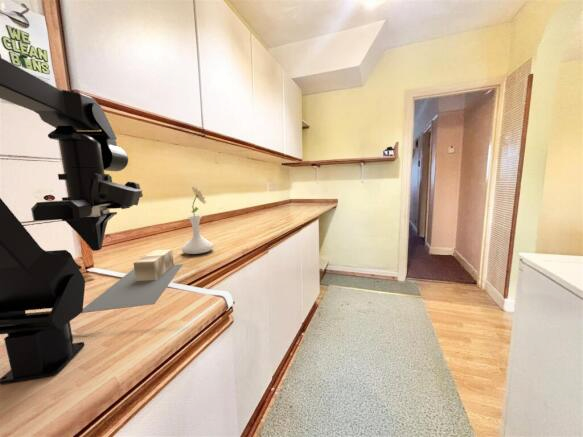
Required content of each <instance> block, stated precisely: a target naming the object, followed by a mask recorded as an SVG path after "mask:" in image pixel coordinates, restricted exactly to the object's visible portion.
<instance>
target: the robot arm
mask: <svg viewBox="0 0 583 437" xmlns="http://www.w3.org/2000/svg"><path fill="white" fill-rule="evenodd" d="M0 99H1V100H4V101H7V102H9V103H10V104H11V103H12V104H15V105H17V106H19V107H22V108H25V109H27V110H30V111H32V112H34V113H36V114H37V115H39V118H40V120H41V121H42V122H44V123H45V124H48V125H49V126H51V127H54V128H55V129H54V130H52V131H50V132H49V133H48V134H47V137H48V138H49V139H50V140H55V141H58V145H59V150H60V156H61V157H60V158H61V161H62V168H63V173H57V177H58V181H65V187H66V192H67V197H61V200H47V201H40V202H39V201H38V202H36V203H35V204H34V205H33V206H32V207H30V210H31V216H32V219H33V220H32V221H35V222H38V221H39V222H40V221H54V220H55V221H58V220H61V221H62V222H66V223H67V225H69V227H71V228H72V229H73V231H74V232H76V233H77V235H78V236H79V237H80V238H81V239H82V240H83V241H84V242H85V243H86V244H87V245H88V247H89V248H90V249H91V250H92V252H96V251H101V250H102V247H103V243H104V238H105V233H106V229H107V225H108V222H109V221H110V220H111V219H112V218H113V217H114V216H116V215H117V214H118V212H117V211H110V210H111V209H113V210H115V209H122V210H125V209H130V208H132V207H133V206H138V205H139V202H140V198H143V196H144V194H143V189H141V186H140V183H138V182H134V181H127V182H126V183H125V184H122V183H117V182H113V177H112V176H111V175H110V174H107V173H105V171H106V172H107V171H109V172H121V171H123V170H124V169H126V167H127V166H128V163H129V157H128V155H127V152H126V151H125V150H124V149H123V148H121V147H120V146H118V145H117V136H116V134H115V131H114V130H113V128H112V126H111V124H110V122H109V120H108V117H107V115H106V113H105V111H104V109H103V108H102V106H101V105H100V103H98V101H97V100H95V99H94V98H93V97H92V96H89V95H87V94H83V93H80V92H77V91H73V90H68V89H67V90H65V89H61V88H58V87H56V86H54V85H52V84H50V83H48V82H46V81H44V80H43V79H41V78H39V77H37V76H35V75H34V74H32V73H30V72H28V71H26V70H25V69H23V68H20V67H19V66H17V65H16V64H13V63H11V62H9V61H8V60H6V59H4V58H2V57H0ZM81 269H82V266H81V265H79V264H78V263H77V262H76V261H75V259H74V256H73V255H72V253H70V252H69V251H68V250H66V249H59V250H57V249H55V250H45V249H43V248H42V247H41V246H40V244H38V242H37V241H36V239H34V238H33V235H31V233H30V232H29V231H28V230H27V228H26V227H25V226H24V225H23V224H22V222H21V221H20V220H19V219H18V218H17V217H16V215H15V214H14V213H13V211H12V210H11V209H10V207H8V205H7V204H6V202H4V200H3V199H2V198H1V197H0V335H7V336H6V337H4V338H3V340H4V341H3V342H4V344H5V349H6V354H7V358H8V362H9V366H10V370H9V371H7V372H6V373H5V374H3V376H2V377H0V385H2V384H9V383H14V382H20V381H21V382H22V381H27V380H33V379H39V378H46V377H50V376H52V377H53V376H54V375H56V374H58V373H59V372H61V370H62V369H63V368H64V367H65V366H66V365H67V364H68V363H69V362H70V361H71V360H72V359H73V358H74V357H75V356H76V354H79V352H80V351H81V350H82V349H83V348H84V347H85V342H84V341H80V342H79V341H78V342H74V338H73V333H72V327H71V322H72V320H74V319H76V317H78V316H80V314H81V315H82V311H83V308H84V299H85V291H86V290H85V288H86V282H85V280H84V277H83V275H82V274H83V273H82V272H81V271H80V270H81ZM49 309H51V310H49ZM34 310H47V311H37V312H28V313H27V312H26V311H34Z"/></svg>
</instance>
